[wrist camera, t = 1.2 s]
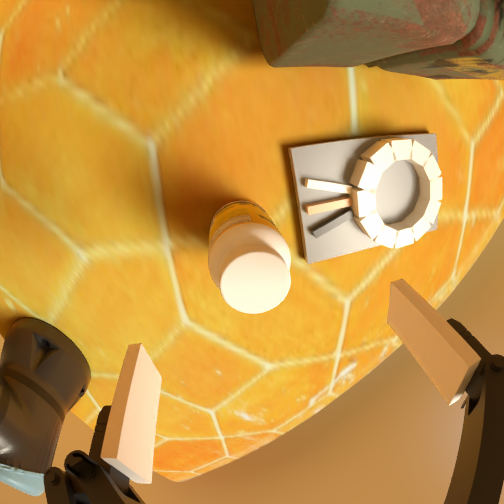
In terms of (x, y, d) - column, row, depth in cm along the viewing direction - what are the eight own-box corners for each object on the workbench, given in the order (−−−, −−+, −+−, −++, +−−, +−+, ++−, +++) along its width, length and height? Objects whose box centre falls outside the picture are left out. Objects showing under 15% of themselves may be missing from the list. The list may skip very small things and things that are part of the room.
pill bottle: (279, 243, 29) (313, 302, 19) (224, 266, 30) (231, 335, 20) (258, 188, 27) (285, 224, 17) (199, 213, 27) (190, 264, 17)
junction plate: (304, 259, 30) (313, 272, 28) (287, 147, 25) (296, 149, 23) (431, 226, 31) (446, 234, 28) (429, 133, 26) (447, 135, 23)
